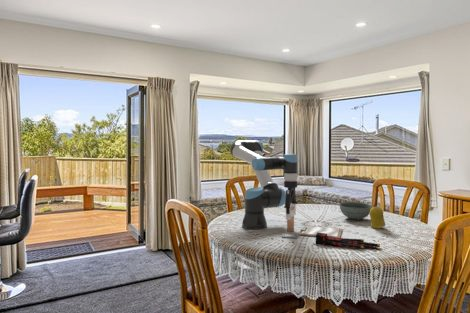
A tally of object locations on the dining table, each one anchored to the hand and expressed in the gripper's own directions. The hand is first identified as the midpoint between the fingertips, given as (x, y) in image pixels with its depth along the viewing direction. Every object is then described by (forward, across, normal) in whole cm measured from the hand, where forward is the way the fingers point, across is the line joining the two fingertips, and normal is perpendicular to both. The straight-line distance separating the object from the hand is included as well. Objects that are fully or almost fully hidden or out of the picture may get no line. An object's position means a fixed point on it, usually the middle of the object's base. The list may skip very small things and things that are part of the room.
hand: (290, 217), depth 198 cm
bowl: (+8, +44, -34) cm, 56 cm away
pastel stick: (+8, 0, 0) cm, 8 cm away
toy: (+9, -19, -32) cm, 38 cm away
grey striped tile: (+8, -12, -2) cm, 14 cm away
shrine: (+9, +23, -47) cm, 53 cm away
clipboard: (+8, +2, -17) cm, 19 cm away
